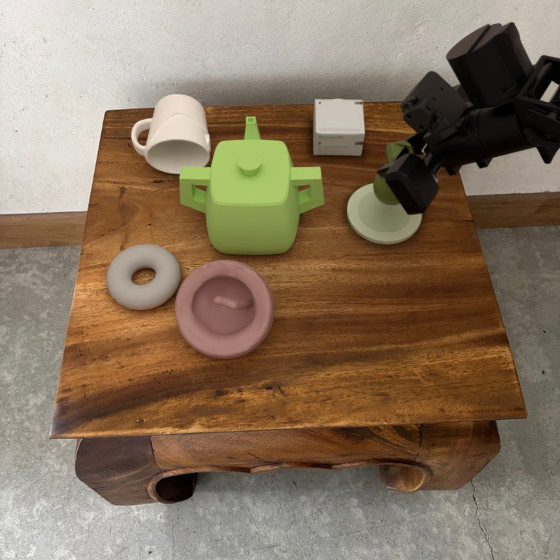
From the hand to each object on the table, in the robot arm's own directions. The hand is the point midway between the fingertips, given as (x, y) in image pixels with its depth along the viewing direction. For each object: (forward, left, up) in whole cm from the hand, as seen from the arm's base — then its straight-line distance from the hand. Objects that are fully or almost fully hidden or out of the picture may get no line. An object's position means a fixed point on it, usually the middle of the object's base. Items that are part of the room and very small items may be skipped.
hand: (387, 161), depth 73 cm
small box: (+8, -14, -11) cm, 19 cm away
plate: (-1, 0, -10) cm, 10 cm away
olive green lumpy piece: (-1, +1, -7) cm, 7 cm away
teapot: (+18, +3, -11) cm, 21 cm away
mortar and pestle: (+17, +23, -11) cm, 31 cm away
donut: (+30, +18, -11) cm, 37 cm away
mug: (+33, -6, -11) cm, 35 cm away
